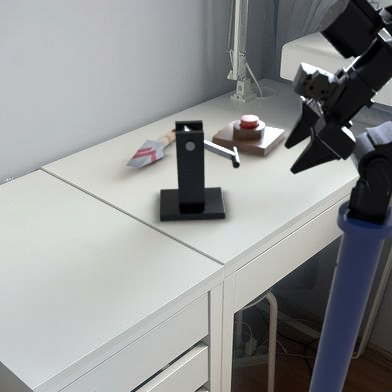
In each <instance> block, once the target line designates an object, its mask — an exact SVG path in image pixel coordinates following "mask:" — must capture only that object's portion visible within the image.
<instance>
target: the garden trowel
mask: <svg viewBox="0 0 392 392" xmlns="http://www.w3.org/2000/svg"><path fill="white" fill-rule="evenodd" d="M174 141H176V136H175V127H174V128H173V129H171V130H170V131H169V132H167V133H166V134H165V135H163V136H162V137H161V138H159V139H158V140H157V141H155V140H151V139H146V140H145V142H144V143H143V144H142V145H141V146H140V147H139V149H138V150H136V152H135V153H134V154H133V155H132V157H131V158H130V159H129V160H128V162H127V163H126V164H125V166H126V167H131V168H137V169H139V168H142V167H144V166H146V165H149V164H151V163H153V162H155V161H157V160H159V159H162V158H164V157H165V153H164V149H165V148H166V147H167V146H169V145H170V144H171V143H172V142H174Z"/></svg>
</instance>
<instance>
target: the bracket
mask: <svg viewBox="0 0 392 392" xmlns="http://www.w3.org/2000/svg"><path fill="white" fill-rule="evenodd" d="M184 125H185V126H187V127H190V128H192V129H194V130H197V131H182V130H183V127H184ZM174 128H175V136H176V139H175V153H176V154H175V155H176V173H177V188H165V189H164V188H163V189H162V188H161V189H160V190H159V193H160V194H159V222H179V221H180V222H181V221H201V220H202V221H205V220H206V221H208V220H209V221H210V220H225V219H226V208H225V203H224V196H223V190H222V189H223V188H222V187H221V186H215V187H214V186H213V187H206V184H205V183H206V180H205V179H206V175H205V174H206V173H205V172H206V171H205V169H206V168H205V167H206V166H205V165H206V164H205V162H206V161H205V149H204V140H205V130H204V121H203V119H198V120H196V119H195V120H175V121H174Z"/></svg>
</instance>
